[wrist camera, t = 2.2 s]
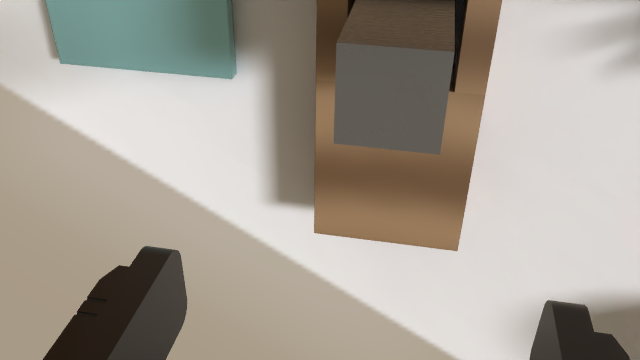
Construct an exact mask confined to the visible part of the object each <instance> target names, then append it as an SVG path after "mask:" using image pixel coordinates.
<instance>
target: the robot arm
mask: <svg viewBox="0 0 640 360" xmlns="http://www.w3.org/2000/svg"><path fill="white" fill-rule="evenodd" d="M186 310H187V296H186V289H185V282H184V275H183V268H182V261H181V255H180V253H179V251H178V250H172V249H165V248H157V247H150V246H145V247H143V248H142V249H141V250H140V252H139V253H138V255H137V256H136V258H135V259H134V261H133V262H132V264H131V265H130V267H127V266H120V265H119V266H118V267H116V268H115V269H114V270H112V271H111V272H109V273H108V274H107V275H105V276H104V277H102V278H101V279H100V280H99V281H98V283H97V284H96V285H95V287H94V288H93V290H92V291H91V292H90V294H89V295H88V297H87V300H85V301H84V302H83V304H82V305H81V306H80V308H79V309H78V311H77V315H74V316H73V318H72V319H71V321H70V322H69V323H68V325H67V326H66V328H65V329H64V330H63V332H62V333H61V335H60V336H59V337H58V339H57V340H56V342H55V343H54V345H53V346H52V347H51V349H50V350H49V351H48V353H47V354H46V356H45V357H44V358H43V360H166V358H167V356H168V354H169V352H170V350H171V348H172V346H173V344H174V342H175V340H176V338H177V336H178V334H179V332H180V330H181V328H182V325H183V323H184V320H185V315H186ZM530 360H630V359H629V356H628V355H627V353H626V352H625V351H624V349H623V348H622V347H621V346H620V344H619V343H618V342H617V341H616V339H615V338H614V337H613V336H612V334H605V333H597V332H594V330H593V326H592V322H591V319H590V315H589V311H588V308H587V307H586V306H585V305H581V304H573V303H565V302H558V301H550V300H548V301H547V302H546V303H545V305H544V308H543V312H542V315H541V319H540V322H539V325H538V329H537V332H536V336H535V339H534V342H533V346H532V349H531V354H530Z"/></svg>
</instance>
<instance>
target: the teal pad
mask: <svg viewBox="0 0 640 360" xmlns="http://www.w3.org/2000/svg"><path fill="white" fill-rule="evenodd" d="M46 4H47V8H48V12H49V17H50V21H51V25H52V30H53V34H54V38H55V43H56V47H57V51H58V55H59V60H60V63H61V64H72V65H83V66H94V67H105V68H116V69H127V70H138V71H149V72H160V73H171V74H182V75H192V76H203V77H214V78H225V79H232V78H233V77H234V76H235V74H236V60H235V45H234V29H233V14H232V0H46Z"/></svg>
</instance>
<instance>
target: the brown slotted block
mask: <svg viewBox="0 0 640 360" xmlns="http://www.w3.org/2000/svg"><path fill="white" fill-rule="evenodd" d="M355 1H356V0H317V40H316V125H315V211H314V233H319V234H326V235H334V236H342V237H350V238H358V239H366V240H374V241H382V242H390V243H398V244H405V245H413V246H421V247H429V248H437V249H445V250H453V251H457V250H458V245H459V239H460V234H461V228H462V222H463V217H464V211H465V205H466V200H467V194H468V189H469V183H470V177H471V172H472V166H473V161H474V155H475V149H476V144H477V138H478V133H479V127H480V121H481V116H482V110H483V105H484V99H485V93H486V88H487V82H488V77H489V71H490V65H491V60H492V54H493V49H494V43H495V37H496V32H497V26H498V20H499V15H500V9H501V4H502V0H464V6H463V13H462V20H461V27H460V34H459V41H458V48H457V55H456V62H455V67H452V74H451V81H450V88H449V95H448V102H447V110H446V117H445V124H444V131H443V138H442V145H441V152H440V155H437V154H428V153H418V152H409V151H399V150H390V149H380V148H371V147H361V146H351V145H342V144H333V142H334V109H335V76H336V44H337V40H338V38H339V36H340V34H341V32H342V29H343V27H344V25H345V23H346V21H347V18H348V16H349V14H350V12H351V10H352V7H353V5H354V3H355Z"/></svg>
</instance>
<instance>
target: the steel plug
mask: <svg viewBox="0 0 640 360" xmlns="http://www.w3.org/2000/svg"><path fill="white" fill-rule="evenodd" d="M454 53H455V0H356V1H355V3H354V5H353V7H352V10H351V12H350V14H349V16H348V18H347V21H346V23H345V25H344V27H343V29H342V32H341V34H340V36H339V38H338V40H337V44H336V76H335V109H334V142H333V144H342V145H351V146H361V147H371V148H380V149H390V150H399V151H409V152H418V153H428V154H437V155H440V152H441V145H442V138H443V131H444V124H445V117H446V110H447V102H448V95H449V88H450V81H451V74H452V67H453V60H454Z"/></svg>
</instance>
